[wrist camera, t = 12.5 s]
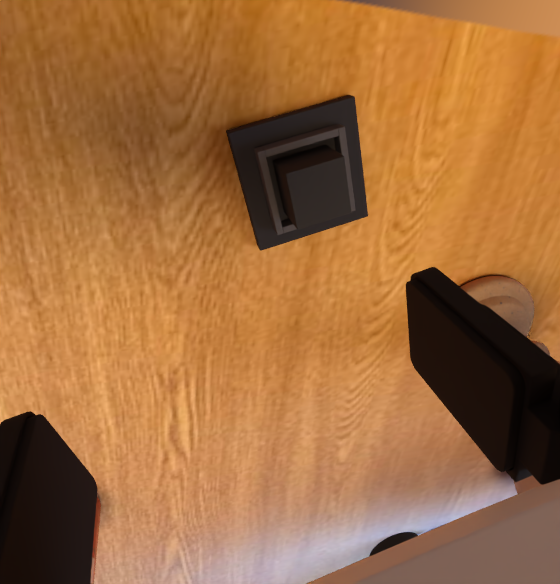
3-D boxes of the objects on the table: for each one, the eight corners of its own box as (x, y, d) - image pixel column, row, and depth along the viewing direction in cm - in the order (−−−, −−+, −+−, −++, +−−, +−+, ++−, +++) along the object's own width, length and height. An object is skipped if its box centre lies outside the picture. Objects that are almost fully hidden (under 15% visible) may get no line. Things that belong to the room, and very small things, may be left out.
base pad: (225, 130, 30) (231, 136, 28) (349, 94, 31) (362, 98, 29) (257, 245, 35) (263, 257, 33) (363, 211, 36) (374, 221, 34)
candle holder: (438, 390, 49) (588, 575, 33) (404, 319, 43) (571, 505, 26) (534, 333, 49) (738, 491, 32) (515, 251, 42) (762, 397, 25)
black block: (272, 160, 30) (285, 173, 28) (325, 144, 31) (344, 155, 28) (284, 212, 33) (297, 230, 30) (334, 196, 33) (352, 212, 30)
